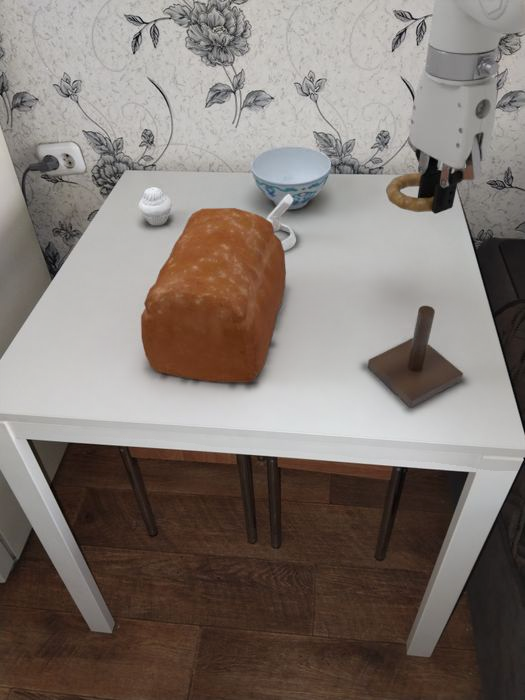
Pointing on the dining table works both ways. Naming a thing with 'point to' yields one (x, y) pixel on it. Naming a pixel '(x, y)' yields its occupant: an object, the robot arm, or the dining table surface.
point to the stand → (416, 365)
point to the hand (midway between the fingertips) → (434, 204)
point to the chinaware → (291, 173)
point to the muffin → (155, 206)
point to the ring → (407, 201)
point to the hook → (277, 226)
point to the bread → (216, 298)
